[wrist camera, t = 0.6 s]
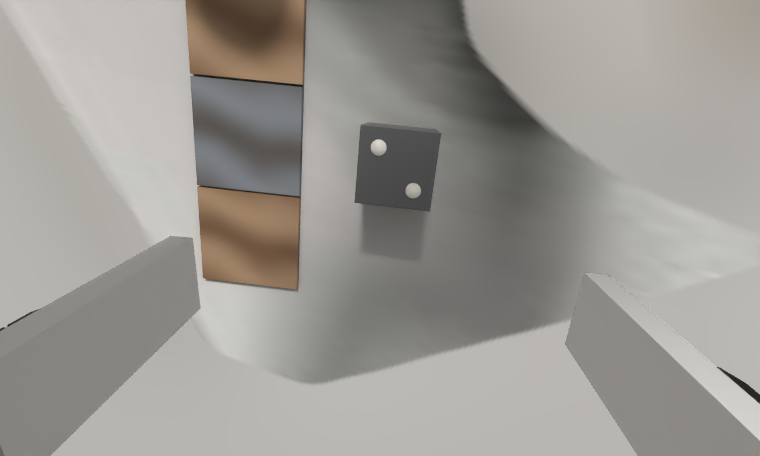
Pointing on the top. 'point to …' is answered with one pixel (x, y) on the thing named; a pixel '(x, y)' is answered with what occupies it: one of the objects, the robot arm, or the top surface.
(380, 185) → the die
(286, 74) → the board
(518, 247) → the top surface
